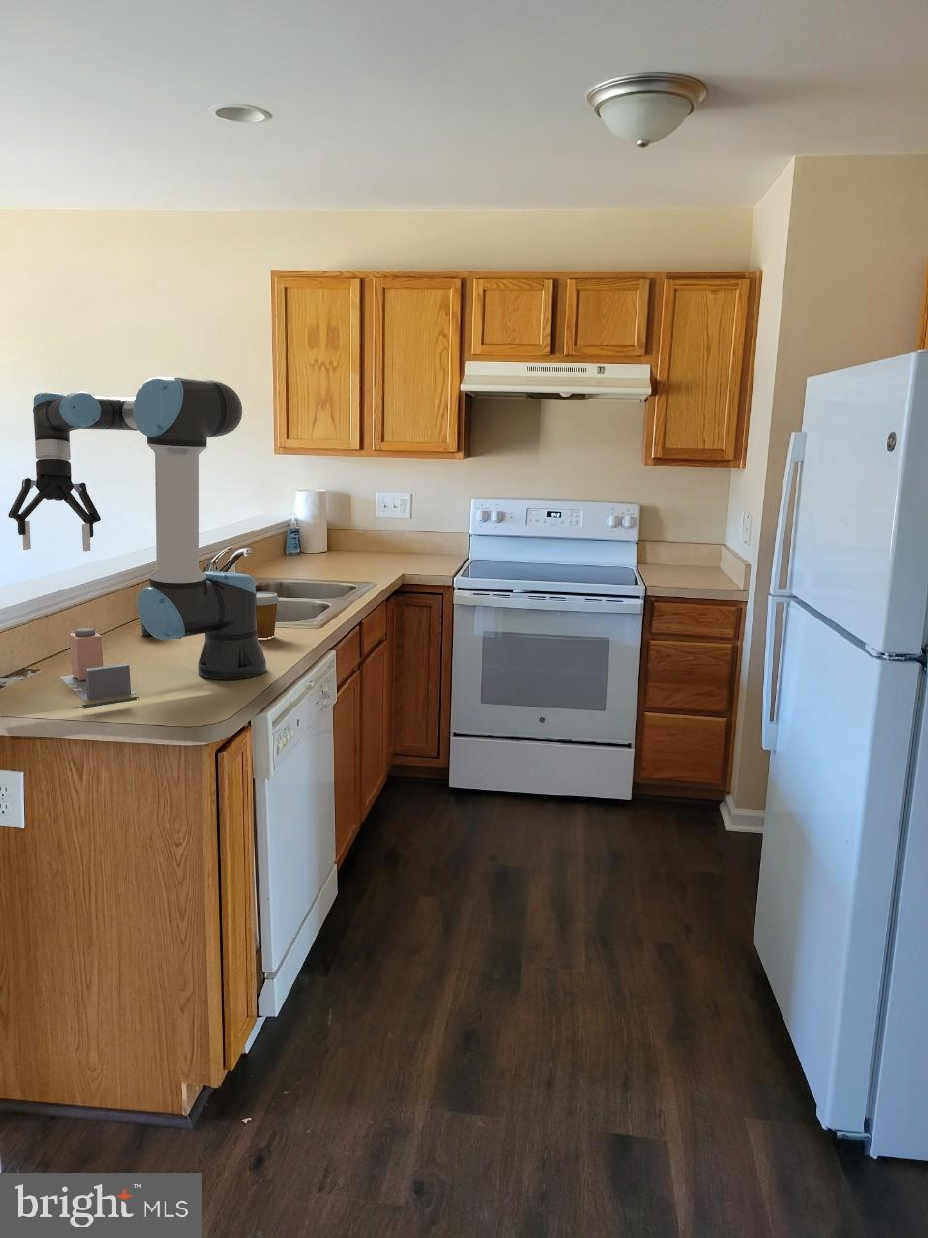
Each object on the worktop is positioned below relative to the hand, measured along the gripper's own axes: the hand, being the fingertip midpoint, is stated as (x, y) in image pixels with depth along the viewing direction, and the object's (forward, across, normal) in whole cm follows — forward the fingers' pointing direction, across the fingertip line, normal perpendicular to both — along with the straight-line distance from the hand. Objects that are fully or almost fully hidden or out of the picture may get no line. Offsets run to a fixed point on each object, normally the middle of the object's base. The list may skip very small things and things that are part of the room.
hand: (57, 550), depth 203 cm
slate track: (+32, +3, +27) cm, 43 cm away
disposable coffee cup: (+23, -49, +8) cm, 55 cm away
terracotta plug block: (+30, +2, +21) cm, 36 cm away
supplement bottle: (+21, -30, -15) cm, 39 cm away
